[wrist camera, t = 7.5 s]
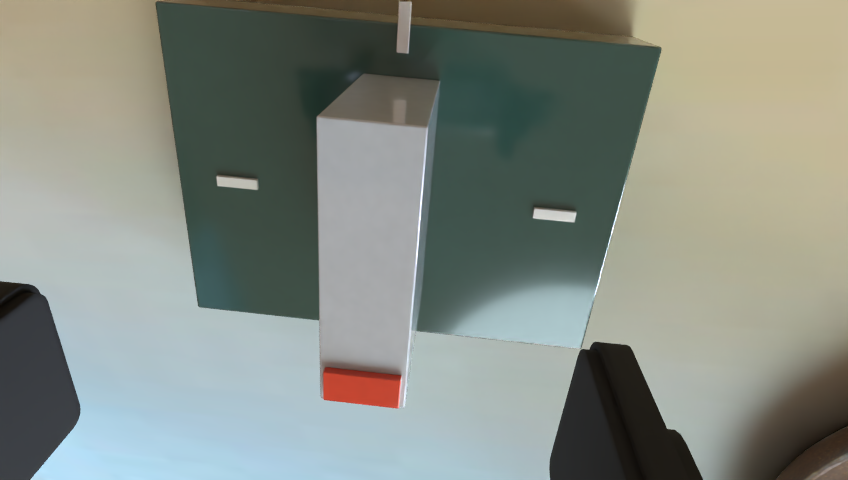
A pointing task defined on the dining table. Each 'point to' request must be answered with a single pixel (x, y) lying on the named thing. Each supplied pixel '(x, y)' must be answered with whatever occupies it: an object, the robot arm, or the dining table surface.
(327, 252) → the tap handle
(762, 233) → the dining table surface
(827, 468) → the plant saucer
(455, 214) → the plate
